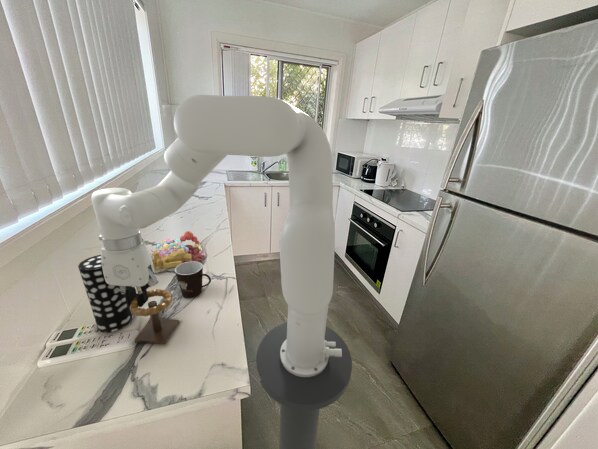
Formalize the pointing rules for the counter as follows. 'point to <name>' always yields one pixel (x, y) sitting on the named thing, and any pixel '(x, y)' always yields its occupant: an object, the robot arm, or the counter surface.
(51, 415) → the counter surface
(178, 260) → the candy platter
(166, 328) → the stand
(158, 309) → the ring
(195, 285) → the coffee mug
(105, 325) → the white-spotted black cylinder
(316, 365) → the robot arm
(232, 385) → the counter surface
